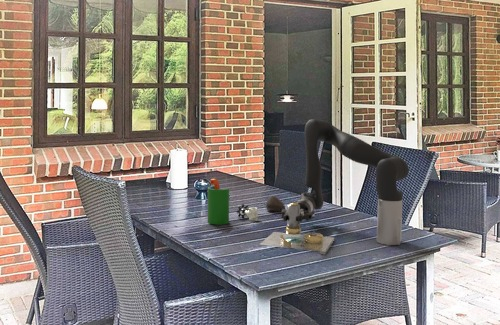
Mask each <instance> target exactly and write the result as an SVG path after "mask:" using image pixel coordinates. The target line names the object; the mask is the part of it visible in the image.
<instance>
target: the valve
mask: <svg viewBox="0 0 500 325" xmlns="http://www.w3.org/2000/svg"><path fill="white" fill-rule="evenodd" d="M237 209H238V210H236V213H237V217H238V218H242V219H245V216H246V217H247V218H248V221H254V222H255V221H256V222H257V221H258V216H259V215H258V207H254V206H252V207H249V206H248V205H245V204H244V203H241V206H240V205H239V206H237Z"/></svg>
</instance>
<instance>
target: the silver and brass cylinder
mask: <svg viewBox="0 0 500 325" xmlns="http://www.w3.org/2000/svg"><path fill="white" fill-rule="evenodd" d="M286 211H287V221H286V223H287V224H286V225H287V226H286V227H285V233H287V234H292V235H296V234H301V233H302V227H301V225H300V223H301V222H298V216H299V215H300V205H299V204H298V203H296V202H290V203H288V204H287V210H286Z"/></svg>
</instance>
